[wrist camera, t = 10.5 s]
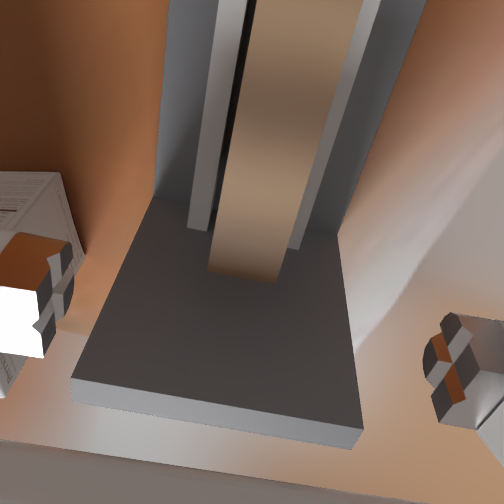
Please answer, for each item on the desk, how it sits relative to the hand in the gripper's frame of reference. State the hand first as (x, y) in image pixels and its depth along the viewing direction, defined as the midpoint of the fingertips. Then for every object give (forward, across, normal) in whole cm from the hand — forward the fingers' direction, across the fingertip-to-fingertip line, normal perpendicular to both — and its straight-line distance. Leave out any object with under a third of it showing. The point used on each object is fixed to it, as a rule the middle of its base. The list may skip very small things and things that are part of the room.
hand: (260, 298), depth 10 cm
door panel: (+18, 0, 0) cm, 18 cm away
